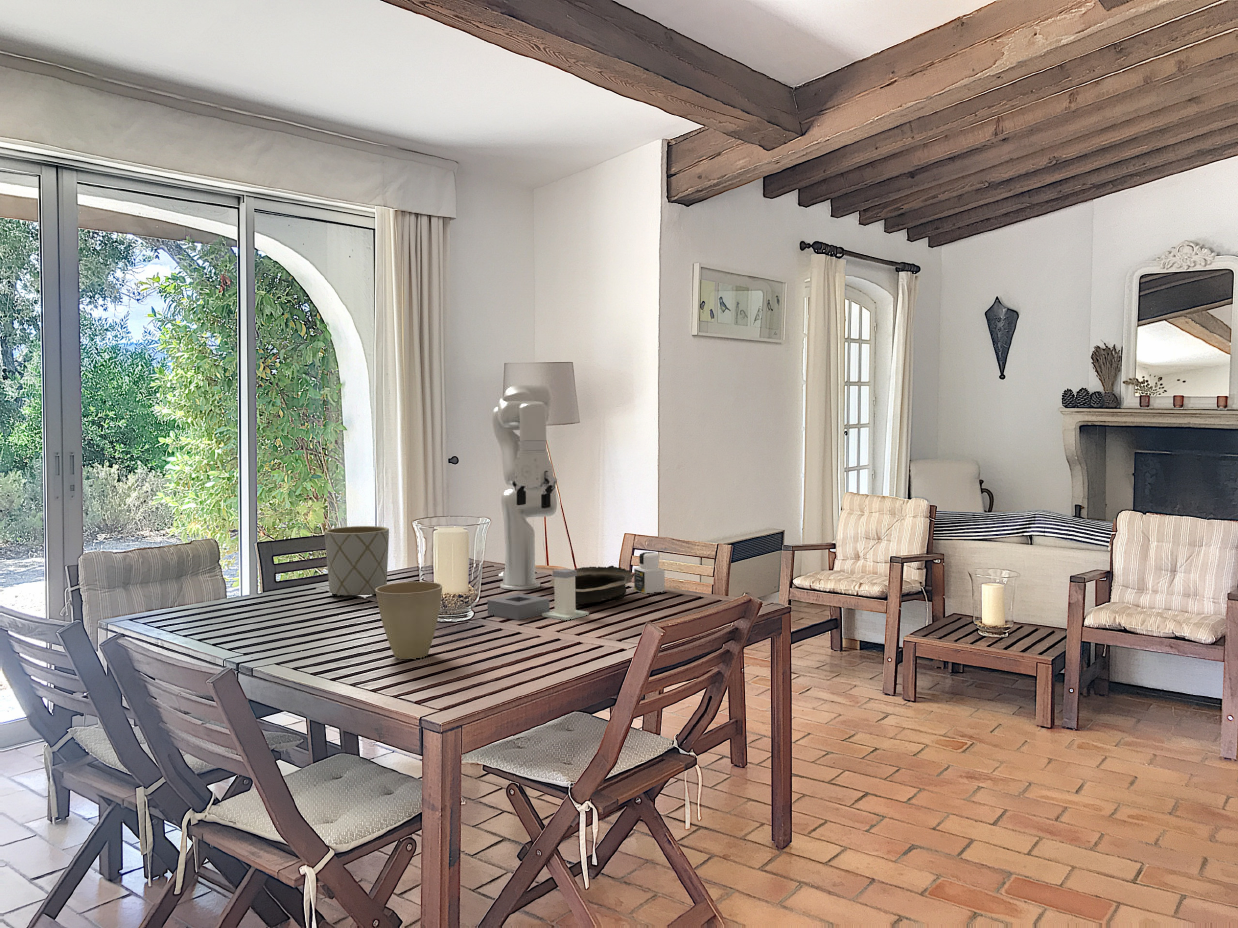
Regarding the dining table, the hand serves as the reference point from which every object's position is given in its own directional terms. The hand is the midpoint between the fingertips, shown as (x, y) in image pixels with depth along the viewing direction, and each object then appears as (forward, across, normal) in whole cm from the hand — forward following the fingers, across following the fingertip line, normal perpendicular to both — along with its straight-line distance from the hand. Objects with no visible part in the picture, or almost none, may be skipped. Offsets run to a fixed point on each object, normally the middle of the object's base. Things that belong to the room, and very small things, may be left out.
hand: (533, 506), depth 276 cm
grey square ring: (+28, +5, -11) cm, 31 cm away
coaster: (+28, +17, -5) cm, 33 cm away
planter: (+30, -55, -20) cm, 66 cm away
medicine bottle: (+29, +14, +37) cm, 49 cm away
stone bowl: (+29, +10, +14) cm, 34 cm away
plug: (+27, +17, -5) cm, 32 cm away
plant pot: (+27, +18, -59) cm, 68 cm away
